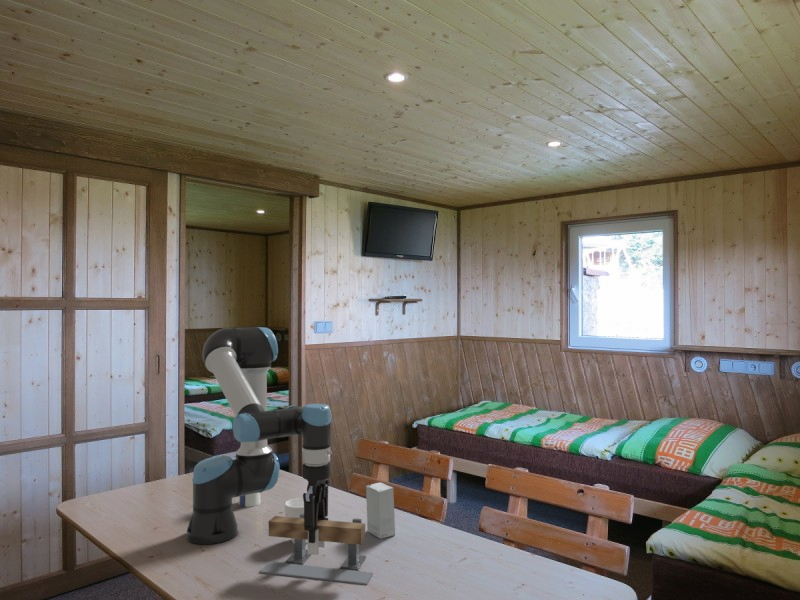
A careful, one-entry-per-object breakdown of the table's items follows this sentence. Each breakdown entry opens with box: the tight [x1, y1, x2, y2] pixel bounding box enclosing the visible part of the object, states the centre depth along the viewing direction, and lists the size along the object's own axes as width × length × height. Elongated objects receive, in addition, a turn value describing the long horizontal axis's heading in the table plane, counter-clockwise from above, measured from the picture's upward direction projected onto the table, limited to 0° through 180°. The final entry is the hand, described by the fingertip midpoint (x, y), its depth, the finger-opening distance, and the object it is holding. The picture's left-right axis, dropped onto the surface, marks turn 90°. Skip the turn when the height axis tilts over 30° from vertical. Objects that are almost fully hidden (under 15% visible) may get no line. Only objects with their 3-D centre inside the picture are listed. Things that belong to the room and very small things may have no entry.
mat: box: [259, 560, 374, 586], centre depth 153 cm, size 30×6×1 cm, turn 77°
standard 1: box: [285, 514, 313, 565], centre depth 162 cm, size 5×8×11 cm, turn 167°
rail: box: [268, 515, 366, 546], centre depth 153 cm, size 26×4×4 cm, turn 77°
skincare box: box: [365, 482, 396, 540], centre depth 180 cm, size 8×6×15 cm
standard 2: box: [339, 518, 367, 571], centre depth 159 cm, size 5×8×11 cm, turn 167°
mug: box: [284, 497, 308, 545], centre depth 175 cm, size 12×9×12 cm
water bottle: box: [238, 493, 261, 508], centre depth 207 cm, size 8×9×25 cm
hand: (316, 549), depth 153 cm, fingers closed on rail, 4 cm apart
